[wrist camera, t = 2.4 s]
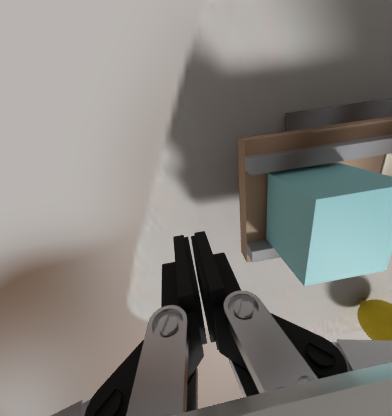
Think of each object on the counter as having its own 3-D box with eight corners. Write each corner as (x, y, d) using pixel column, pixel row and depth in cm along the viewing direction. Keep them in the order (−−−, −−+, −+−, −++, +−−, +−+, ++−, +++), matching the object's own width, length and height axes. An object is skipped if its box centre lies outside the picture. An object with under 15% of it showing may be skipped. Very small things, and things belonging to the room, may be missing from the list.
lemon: (353, 287, 29) (414, 343, 22) (385, 287, 30) (453, 341, 23) (338, 314, 32) (389, 373, 24) (368, 313, 32) (426, 370, 25)
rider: (336, 162, 14) (416, 182, 10) (325, 228, 16) (385, 270, 12) (268, 172, 14) (316, 199, 9) (266, 238, 16) (304, 286, 12)
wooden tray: (445, 91, 19) (586, 77, 13) (406, 204, 24) (493, 236, 18) (221, 122, 18) (251, 124, 12) (228, 235, 23) (252, 281, 17)
